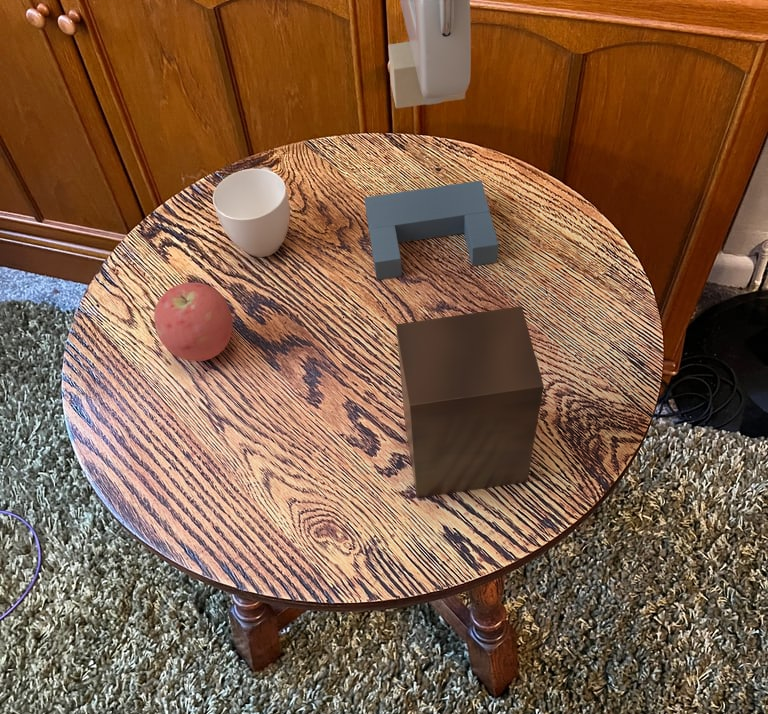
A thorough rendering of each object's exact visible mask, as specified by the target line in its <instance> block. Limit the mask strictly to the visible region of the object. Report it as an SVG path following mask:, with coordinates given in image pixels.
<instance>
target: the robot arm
mask: <svg viewBox="0 0 768 714" xmlns="http://www.w3.org/2000/svg"><path fill="white" fill-rule="evenodd" d="M399 2H400V7H401V12H402V16H403V20H404V24H405V27H406V32H407V38H408V42H410V46H411V50H412V54H413V58H414V63H415V67H416V71H417V75H418V79H419V84H420V88H421V93H422V98H423V102H424V104H425V105H427V106H429V105H436V104H441V103H443V102H442V101H443V100H444V97H448V96H454V95H459V94H463V93H465V94H466V92H467V91H468V89H469V86H470V83H471V74H472V73H471V71H472V68H471V67H472V65H471V63H472V62H471V60H472V59H471V58H472V53H471V52H472V45H471V44H472V41H471V40H472V35H471V32H472V31H471V27H472V26H471V1H470V0H399Z"/></svg>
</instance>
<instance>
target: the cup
mask: <svg viewBox="0 0 768 714" xmlns="http://www.w3.org/2000/svg"><path fill="white" fill-rule="evenodd" d="M212 203H213V207H214V211H215V214H216V216H217V219H218V221H219V224H220V226H221V228H222V230H223V231H224V233H225V234H226V235H227V237H228V238H229V239H230V240H231V242H232V243H233V244H234V245H235V246H236V247H237V248H239V249H240V250H242V251H243V252H245V253H247V254H248V255H250V256H252V257H254V258H255V257H257V258H264V257H265V258H266V257H269V256H271V255H273V254H275V253H276V252H277V251H279V249H280V248H281V246H282V244H283V243H284V241H285V239H286V237H287V234H288V231H289V227H290V221H291V205H290V199H289V194H288V191H287V185H286V183H285V181H284V179H283V178H282V177H281V176H280V175H279V174H277V172H274V171H273V170H272V168H271V167H267V166H263V167H261V168H246V169H242V170H239V171H236V172H234V173H231V174H230V175H228V176H226V177H225V178H223V179H222V180H221V181H220V182H219V183H218V184H217V186H216V187H215V189H214V191H213V194H212Z"/></svg>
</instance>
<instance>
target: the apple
mask: <svg viewBox="0 0 768 714" xmlns="http://www.w3.org/2000/svg"><path fill="white" fill-rule="evenodd" d="M153 314H154V315H153V320H154V326H155V327H154V328H155V331H156V333H157V336H158V339H159V340H160V342H161V344H162V345H163V346H164V347H165V348H166V350H167V351H168V352H169V353H170V354H172V355H174V356H176V357H177V358H179V359H182V360H185V361H190V362H204V361H207V360H211V359H213V358H215V357H217V356H218V355H219V354H221V353H222V352H223V351H224V350H225V348H226V347H227V346H228V344H229V342H230V340H231V337H232V333H233V328H234V322H233V315H232V311H231V308H230V306H229V304H228V302H227V300H226V298H225V297H224V296H223V294H221V292H219V291H218V290H217V289H216V288H215V287H213V286H210V285H208V284H207V283H201V282H182V283H180V284H176V285H174V286H173V287H171V288H168V289H167V290H166V292H164V293H163V294H162V296H161V297H160V298H159V300H158V301H157V303H156V305H155V309H154V313H153Z"/></svg>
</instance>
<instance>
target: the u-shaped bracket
mask: <svg viewBox="0 0 768 714" xmlns="http://www.w3.org/2000/svg"><path fill="white" fill-rule="evenodd" d="M363 199H364V207H365V213H366V214H365V216H366V221H367V222H366V223H367V229H368V234H369V235H368V236H369V240H370V247H371V253H372V259H373V266H374V272H375V278H376V281H378V280H386V279H392V278H400V277H403V271H402V257H401V252H400V251H401V250H400V247H399V244H400V243H407V242H413V241H420V240H427V239H434V238H442V237H447V236H455V235H462V234H463V235H464V239H465V243H466V246H467V247H466V248H467V250H468V251H467V252H468V255H469V259H470V263H471V266H472V267H474V266H481V265H487V264H494V263H498V261H499V246H500V244H499V241H498V237H497V233H496V230H495V226H494V221H493V219H492V214H491V210H490V206H489V203H488V198H487V196H486V192H485V188H484V184H483V181H482V179H480V180H475V181H474V180H473V181H468V182H460V183H459V182H458V183H454V184H453V183H452V184H446V185H439V186H433V187H432V186H431V187H426V188H420V189H412V190H405V191H399V192H392V193H385V194H377V195H370V196H365V197H364V198H363Z"/></svg>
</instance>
